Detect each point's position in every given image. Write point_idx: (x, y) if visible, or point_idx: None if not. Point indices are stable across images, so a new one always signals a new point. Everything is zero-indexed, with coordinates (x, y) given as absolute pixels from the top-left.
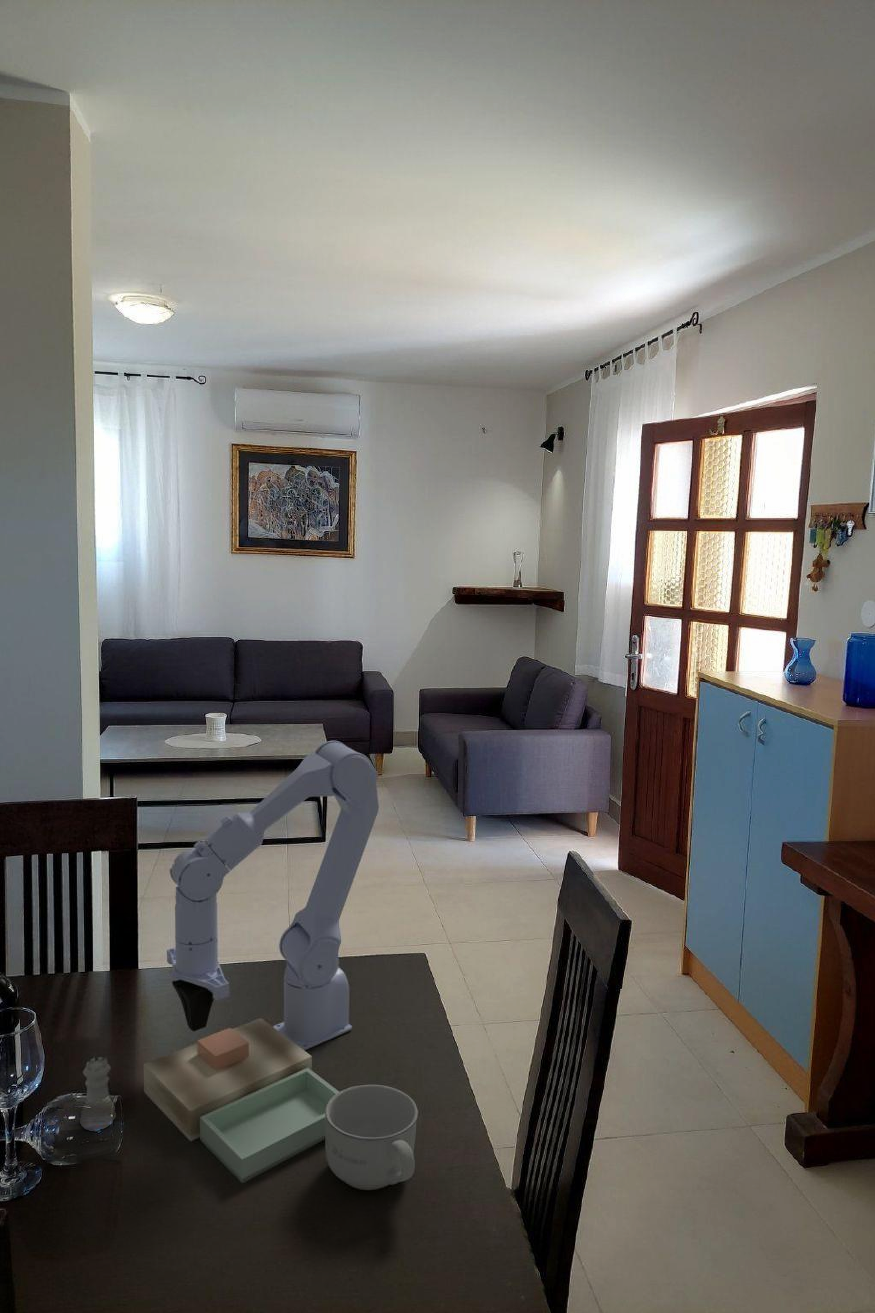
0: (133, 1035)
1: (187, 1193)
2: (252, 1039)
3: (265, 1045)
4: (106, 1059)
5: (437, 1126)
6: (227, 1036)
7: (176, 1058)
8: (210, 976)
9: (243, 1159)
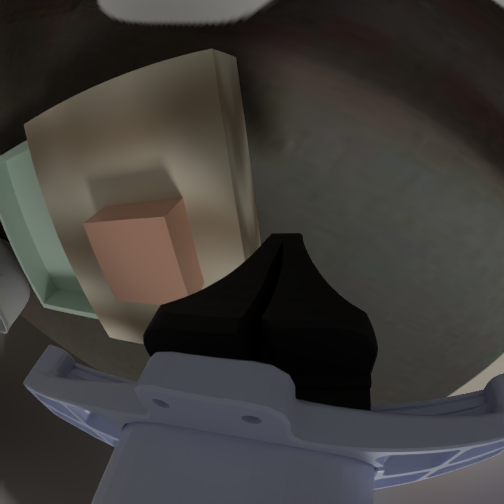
0: (481, 148)
1: (8, 96)
2: None
3: None
4: None
5: (56, 329)
6: (152, 284)
7: (188, 141)
8: (103, 433)
9: None
